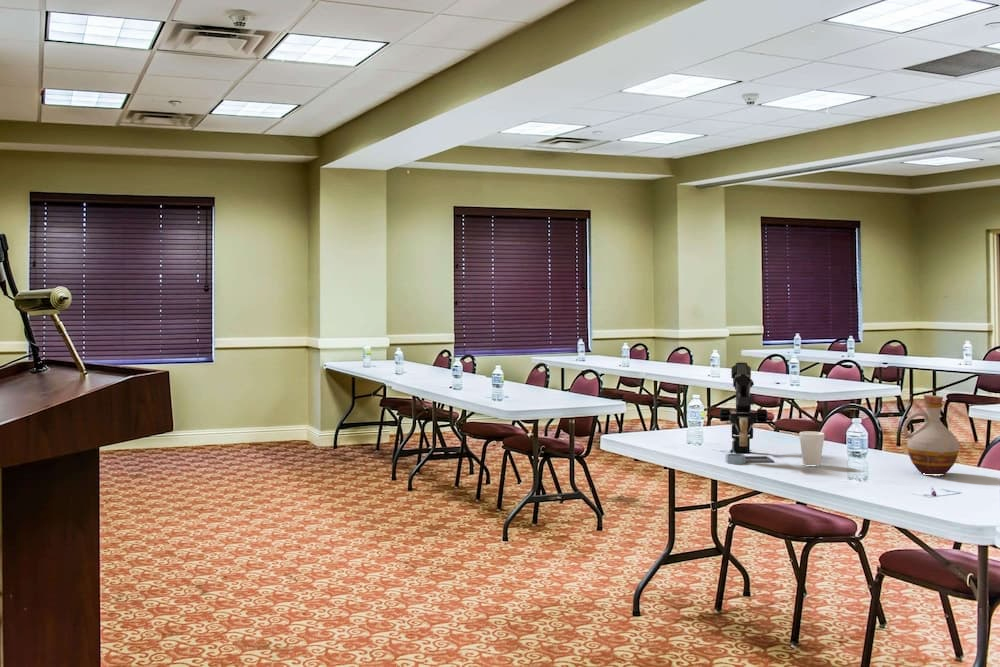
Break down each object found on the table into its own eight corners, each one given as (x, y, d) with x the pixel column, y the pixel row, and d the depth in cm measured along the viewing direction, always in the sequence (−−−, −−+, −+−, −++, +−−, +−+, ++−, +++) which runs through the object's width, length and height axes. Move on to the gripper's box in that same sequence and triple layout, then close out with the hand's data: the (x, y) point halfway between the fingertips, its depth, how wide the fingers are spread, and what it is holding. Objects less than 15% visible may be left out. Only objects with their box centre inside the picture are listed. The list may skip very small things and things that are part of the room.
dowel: (745, 444, 371) (745, 417, 371) (748, 446, 368) (748, 419, 368) (738, 445, 371) (738, 418, 370) (741, 446, 368) (741, 419, 367)
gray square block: (741, 463, 372) (741, 453, 372) (747, 466, 365) (747, 456, 365) (723, 463, 372) (723, 453, 372) (729, 466, 365) (729, 456, 365)
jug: (906, 477, 340) (907, 397, 339) (897, 468, 358) (898, 392, 356) (964, 479, 336) (965, 398, 335) (952, 470, 353) (953, 393, 352)
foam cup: (825, 464, 369) (825, 432, 368) (822, 468, 360) (823, 435, 360) (800, 462, 373) (800, 430, 372) (797, 466, 364) (798, 434, 364)
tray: (740, 460, 378) (740, 456, 378) (767, 460, 378) (767, 456, 378) (746, 465, 368) (746, 460, 368) (773, 464, 368) (773, 460, 368)
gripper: (719, 388, 374) (719, 419, 364) (767, 389, 370) (768, 420, 360) (719, 405, 383) (719, 435, 372) (766, 406, 378) (767, 437, 368)
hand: (743, 431), depth 368 cm, fingers closed on dowel, 3 cm apart
